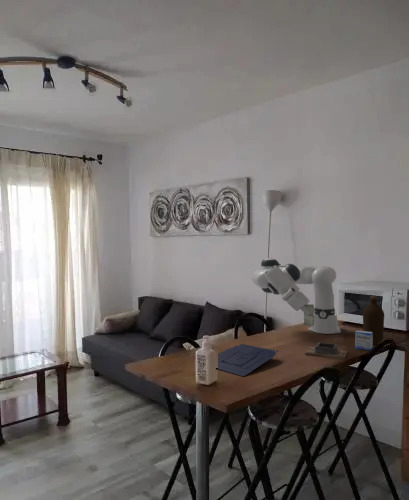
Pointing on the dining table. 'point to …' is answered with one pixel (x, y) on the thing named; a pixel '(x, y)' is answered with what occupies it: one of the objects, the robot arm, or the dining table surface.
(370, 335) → the medicine box
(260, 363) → the dark blue flat slab
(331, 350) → the rack
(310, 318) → the peg block
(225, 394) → the dining table surface
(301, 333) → the dining table surface
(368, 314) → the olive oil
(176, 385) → the dining table surface
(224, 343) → the dining table surface
